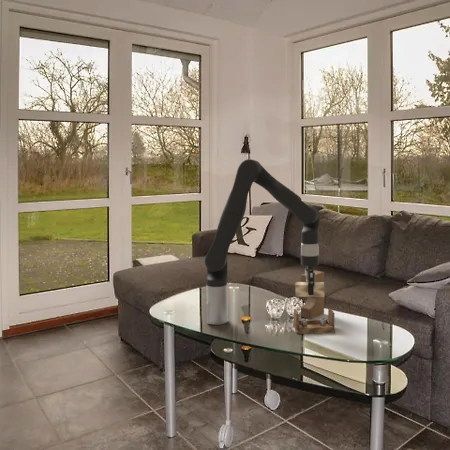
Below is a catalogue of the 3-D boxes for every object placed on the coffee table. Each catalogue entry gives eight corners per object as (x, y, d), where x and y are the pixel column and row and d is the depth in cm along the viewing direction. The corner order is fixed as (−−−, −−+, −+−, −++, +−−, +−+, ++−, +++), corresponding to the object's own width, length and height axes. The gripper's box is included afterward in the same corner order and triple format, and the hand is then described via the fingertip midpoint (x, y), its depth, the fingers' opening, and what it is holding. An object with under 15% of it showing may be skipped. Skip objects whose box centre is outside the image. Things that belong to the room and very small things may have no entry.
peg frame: (296, 333, 213) (297, 315, 212) (293, 325, 223) (293, 308, 222) (335, 332, 214) (335, 314, 213) (329, 324, 224) (329, 307, 222)
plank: (324, 293, 218) (324, 282, 217) (324, 297, 213) (324, 285, 213) (295, 293, 220) (295, 281, 220) (295, 296, 215) (295, 285, 215)
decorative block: (309, 319, 231) (310, 276, 228) (300, 316, 235) (300, 274, 232) (324, 314, 238) (325, 272, 235) (315, 311, 242) (315, 270, 239)
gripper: (320, 257, 207) (321, 297, 209) (317, 250, 221) (317, 288, 223) (302, 257, 207) (302, 297, 210) (299, 250, 222) (300, 288, 224)
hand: (310, 292), depth 217 cm, fingers closed on plank, 5 cm apart
